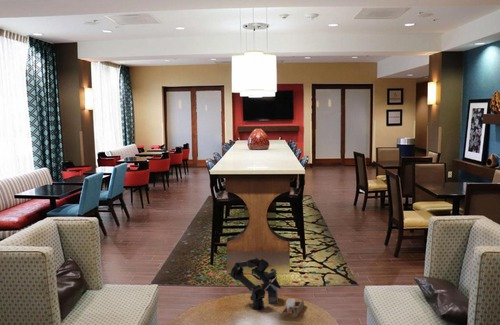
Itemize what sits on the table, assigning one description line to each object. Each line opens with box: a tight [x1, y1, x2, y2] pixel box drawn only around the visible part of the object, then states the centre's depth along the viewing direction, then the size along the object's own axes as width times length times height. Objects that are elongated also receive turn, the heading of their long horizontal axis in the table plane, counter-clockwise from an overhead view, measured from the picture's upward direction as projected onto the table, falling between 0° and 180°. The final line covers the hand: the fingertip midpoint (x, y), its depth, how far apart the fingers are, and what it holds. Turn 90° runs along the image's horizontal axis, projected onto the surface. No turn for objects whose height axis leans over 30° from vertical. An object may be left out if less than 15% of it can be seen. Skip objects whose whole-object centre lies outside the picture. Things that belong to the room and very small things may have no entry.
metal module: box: [285, 297, 296, 313], centre depth 290 cm, size 4×4×9 cm
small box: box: [267, 285, 279, 305], centre depth 315 cm, size 11×6×10 cm, turn 174°
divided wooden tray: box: [281, 299, 305, 318], centre depth 294 cm, size 10×19×5 cm, turn 159°
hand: (278, 290), depth 298 cm, fingers open, 9 cm apart
